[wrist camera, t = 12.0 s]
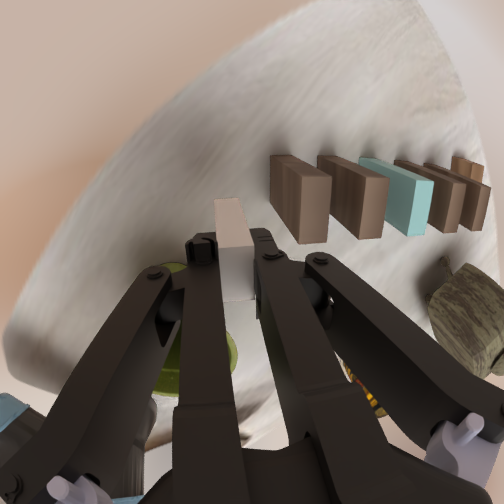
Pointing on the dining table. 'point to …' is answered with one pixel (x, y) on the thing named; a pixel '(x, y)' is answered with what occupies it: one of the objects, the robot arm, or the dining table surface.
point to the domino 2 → (356, 196)
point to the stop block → (467, 168)
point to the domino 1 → (300, 197)
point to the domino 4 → (469, 198)
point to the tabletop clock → (470, 319)
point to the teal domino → (404, 196)
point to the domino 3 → (441, 197)
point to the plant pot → (171, 367)
